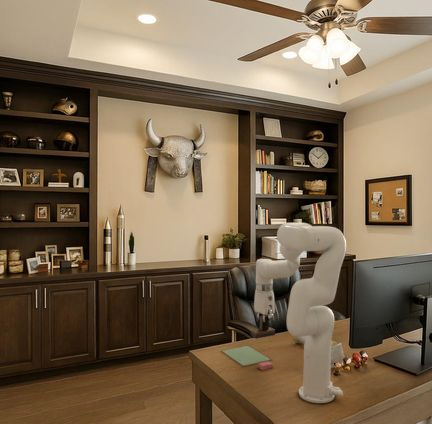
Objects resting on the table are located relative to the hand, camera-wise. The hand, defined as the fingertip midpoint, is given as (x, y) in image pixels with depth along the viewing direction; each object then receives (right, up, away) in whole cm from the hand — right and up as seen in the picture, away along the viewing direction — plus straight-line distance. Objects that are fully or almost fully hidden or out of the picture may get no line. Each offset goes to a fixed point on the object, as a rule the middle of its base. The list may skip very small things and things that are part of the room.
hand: (263, 328), depth 170 cm
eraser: (+1, -13, -10) cm, 17 cm away
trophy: (+25, -14, +10) cm, 30 cm away
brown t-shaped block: (0, -3, 0) cm, 3 cm away
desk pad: (-8, -13, +4) cm, 16 cm away
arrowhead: (+31, -14, -7) cm, 35 cm away
